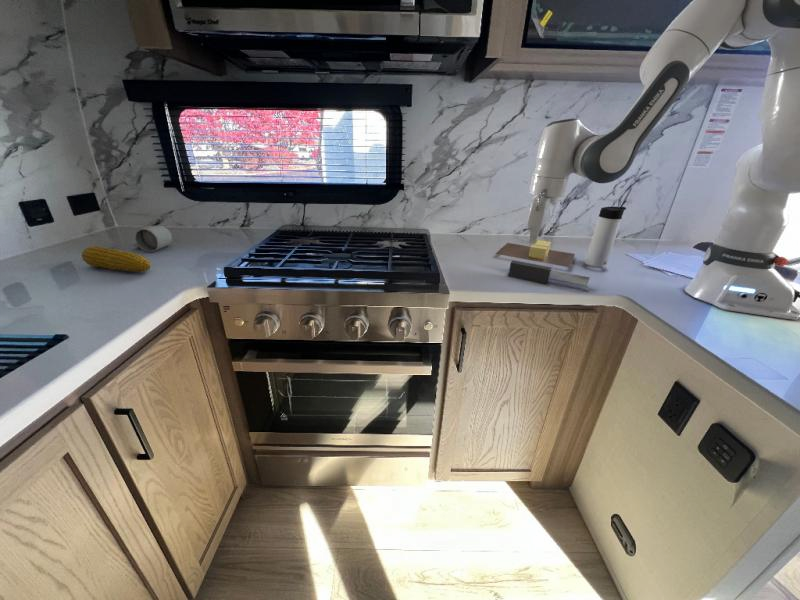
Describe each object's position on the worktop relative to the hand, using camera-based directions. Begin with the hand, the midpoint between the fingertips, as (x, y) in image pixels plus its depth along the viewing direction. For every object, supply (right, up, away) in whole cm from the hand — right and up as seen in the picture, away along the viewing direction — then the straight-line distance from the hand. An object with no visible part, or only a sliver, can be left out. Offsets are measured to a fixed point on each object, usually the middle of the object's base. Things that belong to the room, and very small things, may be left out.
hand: (535, 239), depth 93 cm
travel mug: (+26, -7, +16) cm, 31 cm away
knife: (+4, -12, +3) cm, 13 cm away
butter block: (+12, 0, +25) cm, 27 cm away
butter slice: (+9, -2, +20) cm, 22 cm away
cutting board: (+10, -2, +24) cm, 26 cm away
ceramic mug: (-122, 0, +19) cm, 124 cm away
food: (-118, -8, +1) cm, 119 cm away
